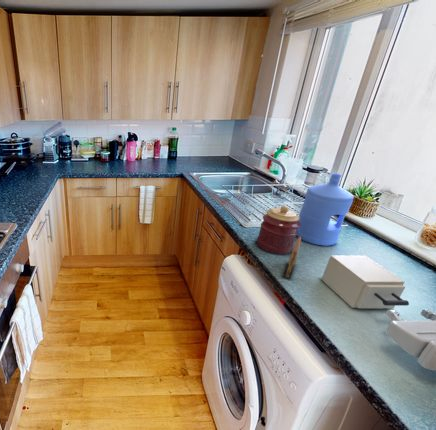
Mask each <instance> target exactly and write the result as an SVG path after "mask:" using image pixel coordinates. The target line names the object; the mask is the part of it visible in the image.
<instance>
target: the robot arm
mask: <svg viewBox="0 0 436 430" xmlns="http://www.w3.org/2000/svg"><path fill="white" fill-rule="evenodd" d="M420 315H421V316H422V317H424V318H425V319H426V320H405V319H404V318H400V317H399V316H400V313H399V312H397V310H396V309H387V310H386V312H385V316H386V317H388V318H389V319H390V320H391V321H390V322H389V323H388V325H387V327H386V330H385V333H386V335H387V336H388V337H389V338H390V339H391V340H392V341H393V342H394V343H395V344H396V345H397V346H399V347H400V348H401V349H402V350H403V351H405V352H406V353H407V354H408V355H410V356H412V357H414V358H417V363H418V364H419V365H420V366H421V367H422V368H424V369H426V370H429V371H430V370H431V371H434V372H436V313H435V312H434V311H432V310H431V309H422V310H421V312H420Z"/></svg>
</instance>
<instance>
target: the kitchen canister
mask: <svg viewBox="0 0 436 430" xmlns="http://www.w3.org/2000/svg"><path fill="white" fill-rule="evenodd" d="M262 219H263V220H262V222H261V223H260V228H259V232H258V235H257V238H256V244H257V246H258V247H259V248H261V249H263V250H264V251H266V252H269V253H272V254H277V255H287V254H289V253H292V251H293V249H294V245H295V241H296V238H297V234H298V230H297V228H298V227H299V226H300V222H299V221H298V220H299V219H300V217H299V214H297V213H296V212H295V211H293V210H291V209H289V207H288V206H287V205H283V206H281V207H273V208H269V209H267V210H266V213H265V214H263V215H262Z"/></svg>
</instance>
